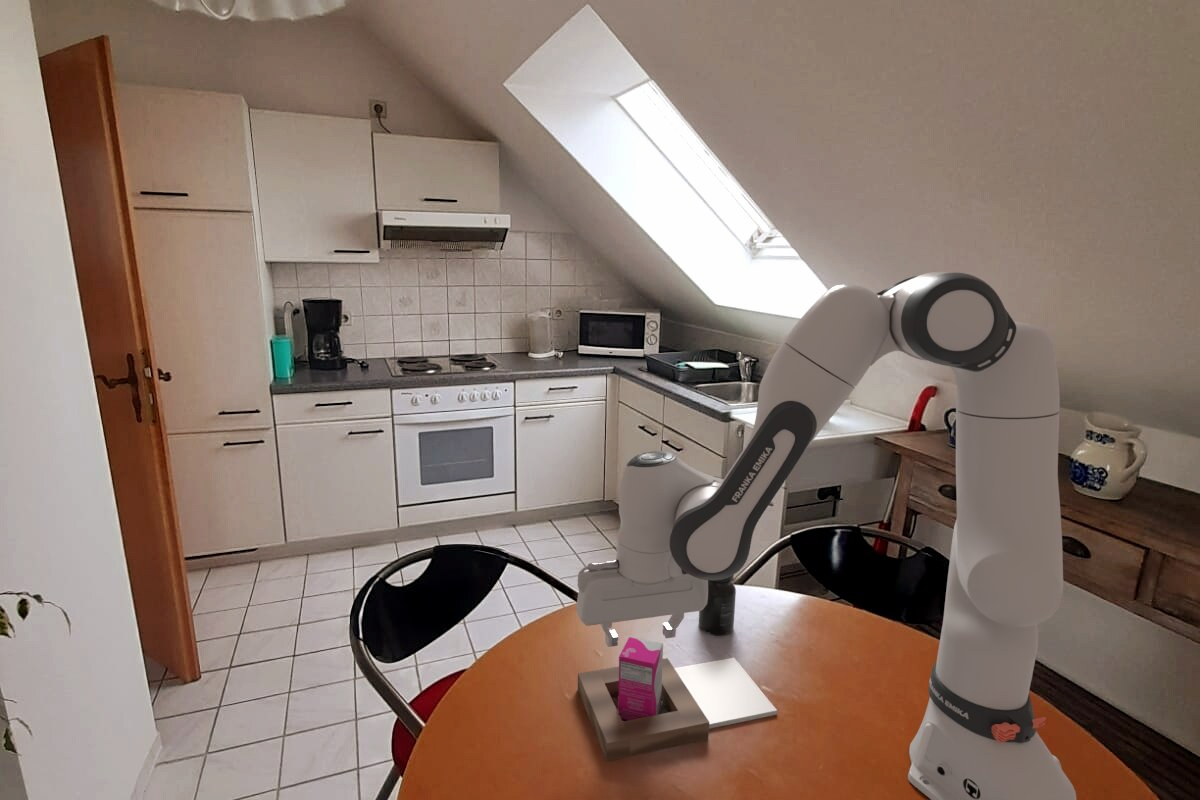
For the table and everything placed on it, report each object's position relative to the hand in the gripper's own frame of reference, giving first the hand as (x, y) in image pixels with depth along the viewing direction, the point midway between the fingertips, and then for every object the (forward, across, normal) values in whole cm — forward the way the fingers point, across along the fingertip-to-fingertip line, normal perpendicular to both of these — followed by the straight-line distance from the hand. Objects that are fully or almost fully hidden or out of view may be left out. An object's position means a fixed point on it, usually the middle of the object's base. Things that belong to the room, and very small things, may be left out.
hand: (640, 640), depth 98 cm
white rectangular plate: (+13, +16, +1) cm, 20 cm away
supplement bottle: (+13, +23, +19) cm, 33 cm away
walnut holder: (+13, 0, 0) cm, 13 cm away
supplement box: (+13, 0, 0) cm, 13 cm away
